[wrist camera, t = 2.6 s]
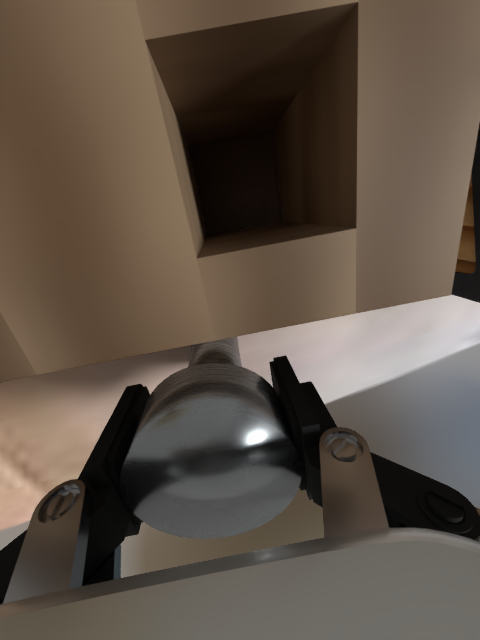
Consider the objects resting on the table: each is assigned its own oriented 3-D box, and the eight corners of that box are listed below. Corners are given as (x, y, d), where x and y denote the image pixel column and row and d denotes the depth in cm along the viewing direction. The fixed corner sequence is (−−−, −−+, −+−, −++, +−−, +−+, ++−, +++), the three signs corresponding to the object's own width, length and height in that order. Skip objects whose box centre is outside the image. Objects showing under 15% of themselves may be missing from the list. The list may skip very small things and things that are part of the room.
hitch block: (330, 53, 11) (539, -243, 4) (335, 255, 15) (451, 294, 8) (-69, 126, 11) (-620, -45, 4) (31, 313, 15) (-155, 412, 7)
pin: (250, 293, 15) (293, 397, 7) (262, 367, 17) (307, 520, 9) (162, 310, 15) (89, 437, 7) (184, 382, 17) (152, 551, 9)
